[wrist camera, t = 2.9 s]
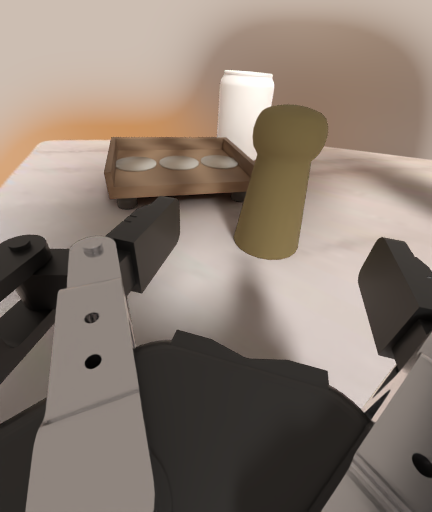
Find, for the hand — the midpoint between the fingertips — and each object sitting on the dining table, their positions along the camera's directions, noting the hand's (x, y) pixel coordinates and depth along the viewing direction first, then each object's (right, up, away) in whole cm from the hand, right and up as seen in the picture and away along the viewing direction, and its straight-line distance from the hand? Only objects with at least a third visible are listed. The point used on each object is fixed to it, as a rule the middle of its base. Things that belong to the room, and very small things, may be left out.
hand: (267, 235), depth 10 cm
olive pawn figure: (+3, +1, +14) cm, 14 cm away
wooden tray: (-7, +9, +22) cm, 25 cm away
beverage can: (+2, +17, +34) cm, 38 cm away
